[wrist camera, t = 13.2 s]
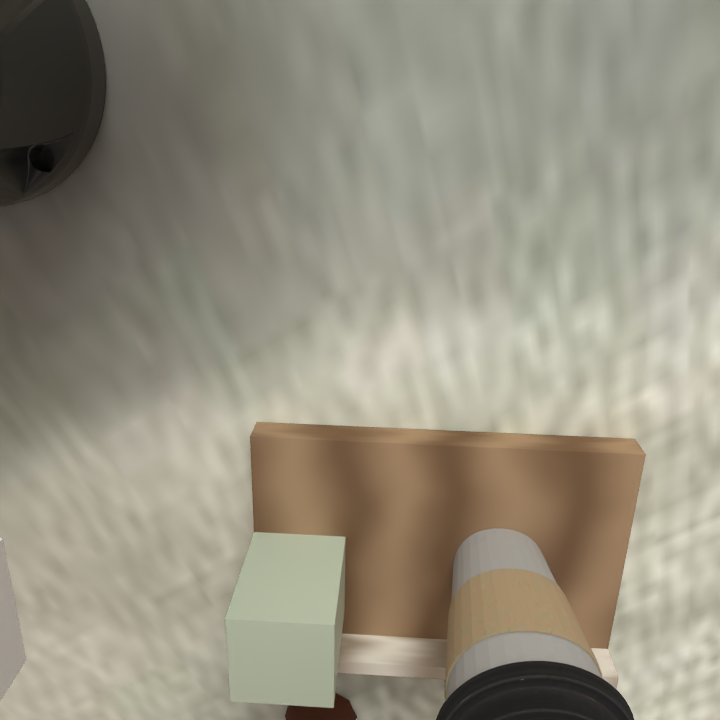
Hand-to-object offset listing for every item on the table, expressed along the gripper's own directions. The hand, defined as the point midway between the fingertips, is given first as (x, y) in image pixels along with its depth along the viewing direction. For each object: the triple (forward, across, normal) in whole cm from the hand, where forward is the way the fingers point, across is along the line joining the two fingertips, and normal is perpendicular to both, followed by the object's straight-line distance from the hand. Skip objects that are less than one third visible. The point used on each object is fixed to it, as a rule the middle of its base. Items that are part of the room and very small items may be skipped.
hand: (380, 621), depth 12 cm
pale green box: (+28, -5, -22) cm, 36 cm away
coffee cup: (+28, +8, -20) cm, 35 cm away
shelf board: (+29, +4, -20) cm, 36 cm away
